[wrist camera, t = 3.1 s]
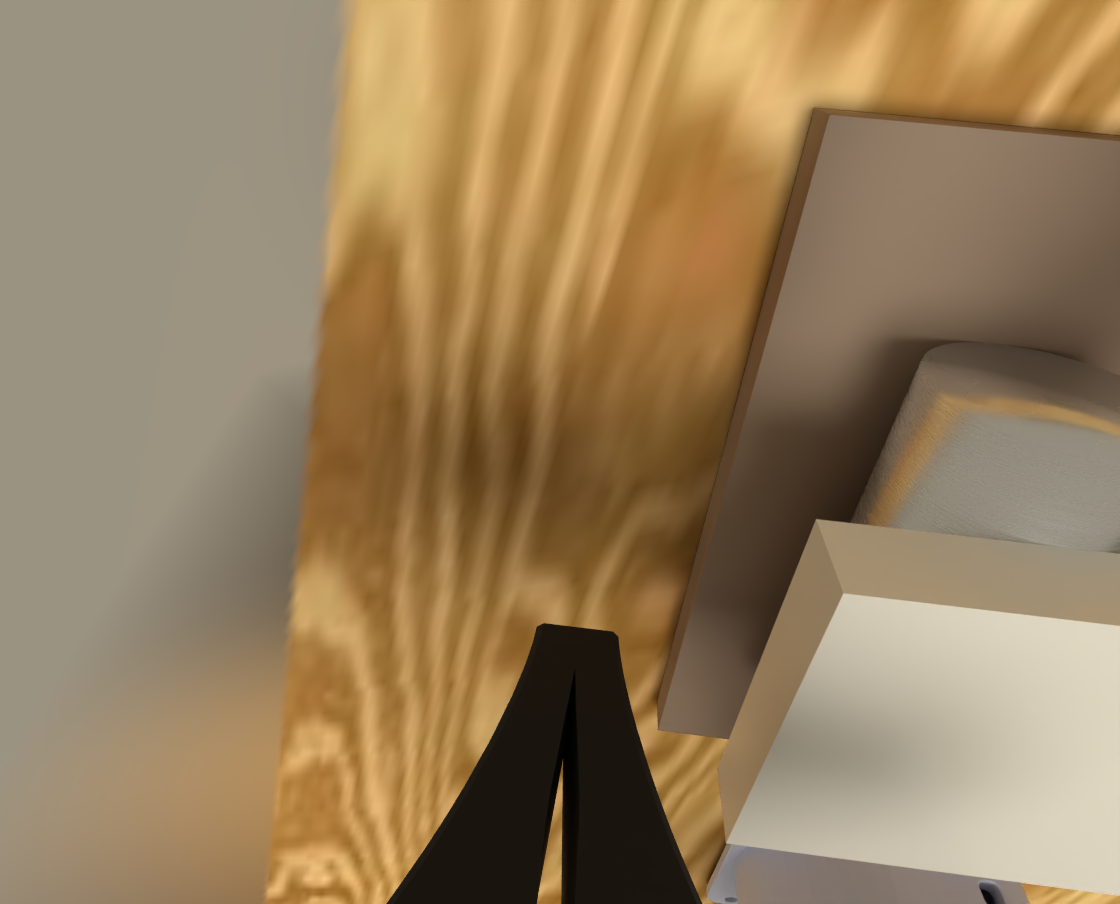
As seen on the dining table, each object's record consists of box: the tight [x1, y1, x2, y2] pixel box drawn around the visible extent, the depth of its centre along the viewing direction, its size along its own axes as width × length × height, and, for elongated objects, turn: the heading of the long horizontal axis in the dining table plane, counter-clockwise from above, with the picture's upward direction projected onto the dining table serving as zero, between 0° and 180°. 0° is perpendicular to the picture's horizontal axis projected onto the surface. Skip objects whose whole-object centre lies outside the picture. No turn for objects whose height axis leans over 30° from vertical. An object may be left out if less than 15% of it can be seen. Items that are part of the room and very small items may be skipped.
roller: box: [850, 342, 1120, 554], centre depth 13 cm, size 4×10×4 cm, turn 176°
